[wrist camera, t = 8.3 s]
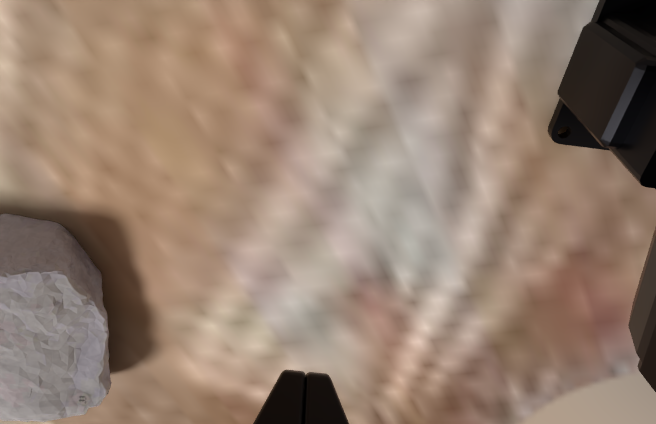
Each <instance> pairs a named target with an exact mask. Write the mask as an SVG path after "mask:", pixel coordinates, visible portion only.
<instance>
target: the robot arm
mask: <svg viewBox="0 0 656 424" xmlns="http://www.w3.org/2000/svg"><path fill="white" fill-rule="evenodd" d="M558 95H559V97H560V99H559V102H558V104H557V107H556V109H555V112H554V114H553V116H552V119H551V121H550V124H549V126H548V134H549V136H550V137H551V138H552V140H553V141H554V142H555V143H558V144H564V145H572V146H580V147H588V148H596V149H604V150H611V152H612V153H613V154H614V155H615V156H616V157H617V158H618V159H619V161H620V162H621V163H622V164H623V165H624V166H625V167H626V168H627V169H628V171H629V172H630V173H631V174H632V175H633V176H634V177H635V178H636V180H637V181H638V182H639V183H640V184H641V185H642V186H645V187H649V188H655V189H656V0H599V3H598V5H597V8H596V10H595V13H594V15H593V18H592V20H591V22H590V23H588V24H587V25H586V26H584V27H583V29H582V32H581V34H580V37H579V39H578V42H577V44H576V47H575V49H574V52H573V54H572V57H571V59H570V62H569V64H568V67H567V69H566V72H565V74H564V77H563V79H562V82H561V84H560V87H559V89H558ZM565 126H568V128H567V130H566V131H565V132H564V133H561V134H558V131H559V129H560V128H562V127H565ZM628 326H629V329H630V332H631V336H632V339H633V343H634V346H635V350H636V353H637V355H638V356H639V358H640V360H639V363H638V368H639V371H640V372H641V374H642V375H643V376H644V378H645V379H646V380H647V382H648V383H649V384H650V385H651V387H652V388H653V389H654V391H655V392H656V228H655V231H654V234H653V238H652V241H651V244H650V248H649V251H648V255H647V258H646V261H645V265H644V268H643V271H642V275H641V278H640V281H639V285H638V288H637V291H636V295H635V298H634V301H633V306H632V311H631V316H630V321H629V325H628ZM253 424H349V423H348V420H347V418H346V415H345V413H344V410H343V408H342V405H341V403H340V400H339V398H338V395H337V393H336V390H335V388H334V385H333V383H332V380H331V378H330V377H329V375H327V374H324V373H314V372H309V373H307V374H306V375H305V373H304V372H302V371H294V370H284V371H283V372H282V373H281V375H280V376H279V378H278V380H277V382H276V384H275V385H274V387H273V389H272V391H271V393H270V394H269V396H268V398H267V400H266V402H265V403H264V405H263V407H262V409H261V411H260V412H259V414H258V416H257V418H256V420H255V421H254V423H253Z"/></svg>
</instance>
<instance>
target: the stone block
mask: <svg viewBox="0 0 656 424" xmlns="http://www.w3.org/2000/svg"><path fill="white" fill-rule="evenodd" d="M102 299H103V292H102V276H101V272H100V271H99V270H98V269H97V268H96V266H95V265H94V264H93V262H92V261H91V260H90V258H89V256H88V255H87V254H86V252H85V251H84V250H83V248H82V247H81V246H80V245H79V243H78V242H77V240H76V239H75V238H74V236H73V235H72V234H71V233H70V232H69V231H68V230H67V229H66V228H64V227H63V226H62V225H60V224H59V223H56V222H52V221H48V220H38V219H33V218H29V217H24V216H20V215H12V214H7V213H6V214H1V215H0V420H3V421H24V422H29V421H40V422H46V421H50V420H55V419H61V418H66V417H71V416H76V415H83V414H86V412H87V410H88V408H89V407H95V406H99V405H100V404H101V402H102V400H103V399H104V398H105V396H106V395H107V394H108V392H109V389H110V386H111V380H110V370H109V362H108V360H109V350H108V338H109V330H108V322H107V318H108V316H107V311H106V309H105V308H104V305H103V301H102Z"/></svg>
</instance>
